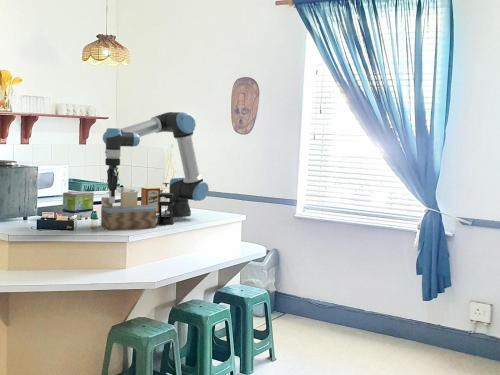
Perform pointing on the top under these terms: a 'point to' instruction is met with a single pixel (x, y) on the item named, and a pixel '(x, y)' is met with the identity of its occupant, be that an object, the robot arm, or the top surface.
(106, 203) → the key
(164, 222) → the french press
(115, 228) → the brown woven basket
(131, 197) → the lid
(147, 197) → the baking soda box
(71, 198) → the tea box
